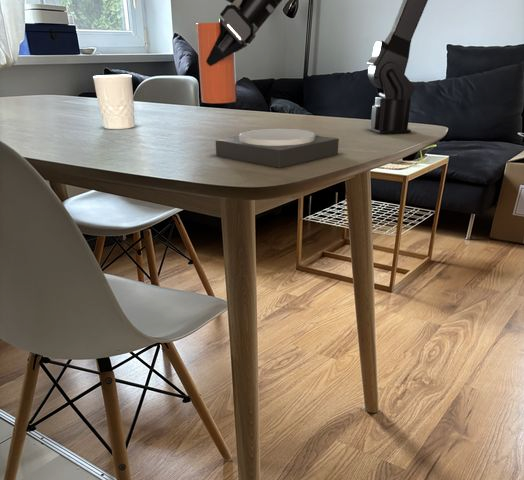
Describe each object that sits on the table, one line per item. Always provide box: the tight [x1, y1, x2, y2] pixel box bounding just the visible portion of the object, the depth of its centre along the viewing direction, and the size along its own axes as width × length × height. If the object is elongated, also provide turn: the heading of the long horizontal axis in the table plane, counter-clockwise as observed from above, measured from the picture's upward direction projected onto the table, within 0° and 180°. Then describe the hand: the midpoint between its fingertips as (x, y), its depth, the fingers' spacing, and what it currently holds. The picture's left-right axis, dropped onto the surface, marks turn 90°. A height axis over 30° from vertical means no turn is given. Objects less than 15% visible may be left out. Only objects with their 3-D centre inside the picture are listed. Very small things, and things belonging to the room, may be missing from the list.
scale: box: [215, 128, 340, 169], centre depth 82 cm, size 14×14×3 cm
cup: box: [195, 22, 237, 104], centre depth 97 cm, size 7×7×13 cm
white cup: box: [92, 74, 136, 130], centre depth 110 cm, size 8×8×10 cm
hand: (209, 63), depth 97 cm, fingers closed on cup, 7 cm apart
